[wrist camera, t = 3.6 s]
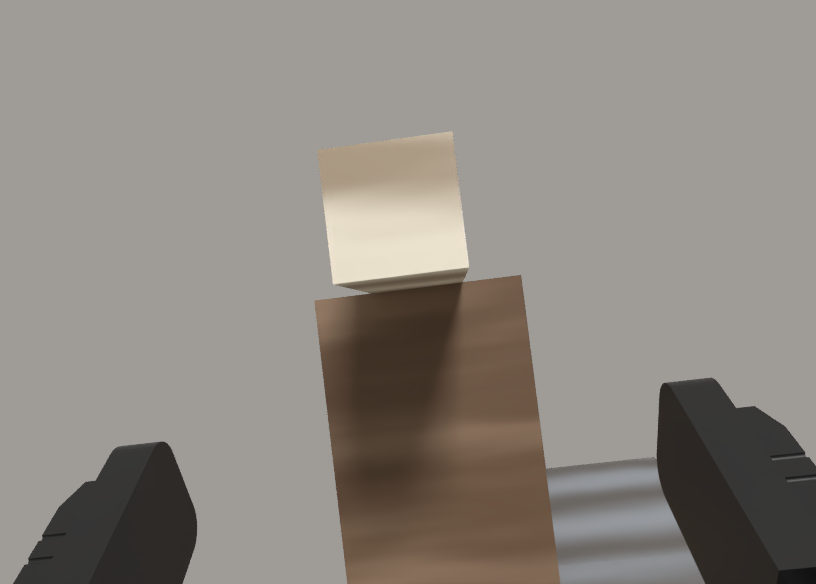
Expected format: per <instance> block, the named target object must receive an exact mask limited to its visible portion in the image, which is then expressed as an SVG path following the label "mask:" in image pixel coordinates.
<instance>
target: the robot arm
mask: <svg viewBox="0 0 816 584" xmlns="http://www.w3.org/2000/svg"><path fill="white" fill-rule="evenodd" d="M657 468H658V475H659V480H660V484H661V487H662V490H663V493H664V496H665V498H666V501H667V503H668V505H669V507H670V509H671V511H672V513H673V516H674V518H675V520H676V522H677V524H678V526H679V528H680V531H681V533H682V535H683V537H684V539H685V541H686V544H687V546H688V548H689V550H690V552H691V554H692V556H693V559H694V561H695V563H696V565H697V567H698V569H699V572H700V574H701V576H702V578H703V580H704V582H705V584H816V466H815V464H814V463H813V462H812V461H811V459H810V458H809V457H807V458H806V456H805V451H804V450H803V449H802V448H801V446H800V445H799V444H798V442H797V441H796V440H795V439H794V437H793V436H792V435H791V434H790V432H789V431H788V430H787V428H786V427H785V426H784V425H782V424H781V423H779V422H778V421H776V420H774V419H773V418H771V417H770V416H768V415H767V414H765V413H764V412H762V411H761V410H759V409H758V408H756V407H755V406H752V407H743V408H736V407H735V406H734V404H733V403H732V402H731V400H730V399H729V397H728V396H727V395H726V393H725V392H724V390H723V389H722V387H721V386H720V385H719V383H718V382H717V381H716V380H715V379H713V378H705V379H696V380H687V381H679V382H669V383H664V384H662V386H661V389H660V397H659V417H658V439H657ZM196 536H197V519H196V513H195V509H194V506H193V503H192V501H191V498H190V496H189V493H188V491H187V488H186V486H185V483H184V480H183V478H182V475H181V472H180V470H179V468H178V465H177V463H176V460H175V457H174V454H173V452H172V450H171V448H170V446H169V445H168V444H167V443H165V442H155V443H146V444H137V445H128V446H120V447H117V448H115V449H114V450H113V451H112V453H111V454H110V456H109V458H108V460H107V462H106V463H105V465H104V467H103V469H102V470H101V472H100V474H99V476H98V478H97V479H96V481H90V482H85V483H84V484H83V485H82V486H81V487H80V488H79V489H78V490H77V491H76V492H75V493H73V495H71V496H70V497H69V498H68V499H67V500H66V501H65V502H64V503H63V504H62V505H61V506H60V507H59V508H58V510H57V511H56V513H55V515H54V516H53V518H52V520H51V521H50V523H49V525H48V526H47V528H46V530H45V532H44V533H43V535H42V537H43V539H42V541H39V542H38V543H37V545H36V546H35V548H34V550H33V551H32V553H31V555H30V557H29V558H28V559H29V562H28V564H27V565H24V567H23V568H22V570H21V572H20V573H19V575H18V577H17V578H16V580H15V582H14V583H13V584H182V583H183V580H184V578H185V575H186V572H187V569H188V566H189V563H190V559H191V557H192V553H193V551H194V548H195V544H196Z"/></svg>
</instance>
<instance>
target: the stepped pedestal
mask: <svg viewBox="0 0 816 584" xmlns="http://www.w3.org/2000/svg"><path fill="white" fill-rule="evenodd" d="M524 303H525V302H524V295H523V287H522V279H521V275H519V276H510V277H502V278H494V279H486V280H477V281H470V282H461V283H453V284H445V285H437V286H429V287H421V288H413V289H405V290H397V291H389V292H381V293H373V294H365V295H356V296H349V297H341V298H332V299H324V300H316V301H315V309H316V318H317V327H318V335H319V344H320V352H321V361H322V369H323V378H324V387H325V395H326V403H327V412H328V421H329V429H330V437H331V447H332V455H333V464H334V471H335V480H336V489H337V497H338V507H339V515H340V524H341V532H342V541H343V549H344V558H345V566H346V575H347V584H705V582H704V580H703V578H702V576H701V574H700V572H699V569H698V567H697V565H696V563H695V561H694V559H693V556H692V554H691V552H690V550H689V548H688V546H687V544H686V541H685V539H684V537H683V535H682V533H681V531H680V528H679V526H678V524H677V522H676V520H675V518H674V516H673V513H672V511H671V509H670V507H669V505H668V503H667V501H666V498H665V496H664V493H663V490H662V487H661V484H660V480H659V475H658V468H657V459H656V458H654V457H651V458H642V459H633V460H623V461H615V462H604V463H595V464H587V465H577V466H568V467H558V468H549V469H546V467H545V459H544V451H543V444H542V436H541V428H540V420H539V412H538V404H537V397H536V388H535V381H534V373H533V365H532V357H531V350H530V342H529V335H528V326H527V318H526V310H525V304H524Z"/></svg>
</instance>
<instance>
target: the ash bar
mask: <svg viewBox="0 0 816 584" xmlns="http://www.w3.org/2000/svg"><path fill="white" fill-rule="evenodd" d="M317 151H318V160H319V168H320V177H321V185H322V194H323V201H324V211H325V219H326V228H327V236H328V245H329V253H330V262H331V270H332V279H333V284H334V285H338V286H343V287H347V288H351V289H355V290H359V291H364V292H368V293H372V294H373V293H381V292H389V291H397V290H405V289H413V288H421V287H429V286H437V285H445V284H453V283H461V282H463V280H464V278H465V276H466V273H467V271H468V269H469V262H468V254H467V246H466V238H465V230H464V222H463V214H462V206H461V198H460V190H459V183H458V174H457V166H456V158H455V150H454V142H453V134H452V132H444V133H437V134H430V135H423V136H415V137H408V138H400V139H393V140H386V141H378V142H371V143H364V144H357V145H349V146H342V147H335V148H327V149H320V150H317Z"/></svg>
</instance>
